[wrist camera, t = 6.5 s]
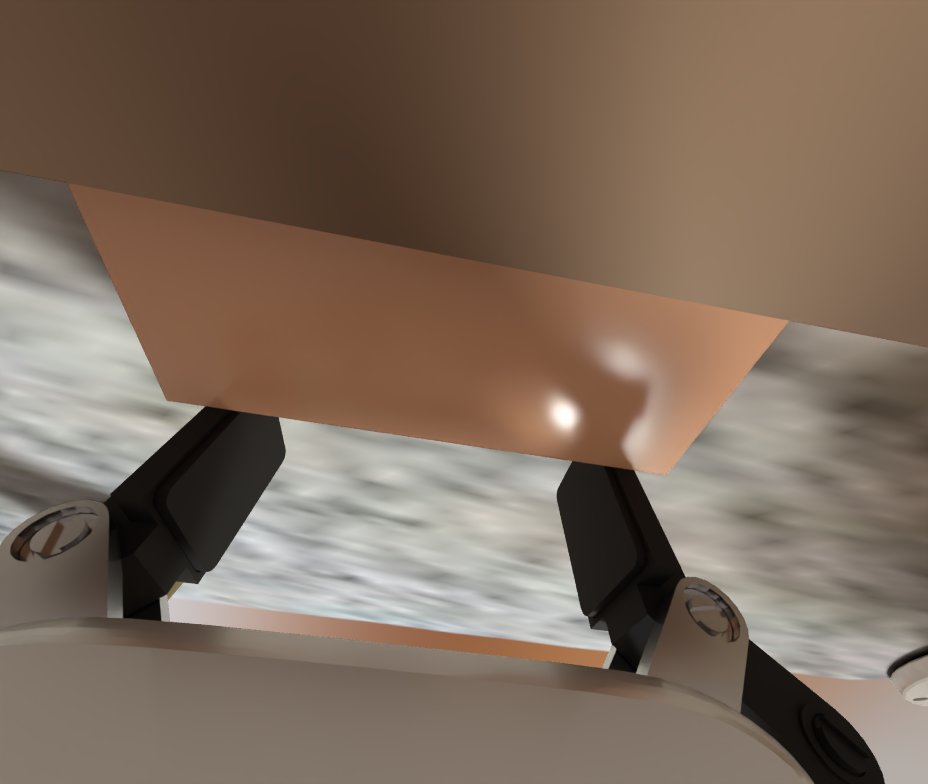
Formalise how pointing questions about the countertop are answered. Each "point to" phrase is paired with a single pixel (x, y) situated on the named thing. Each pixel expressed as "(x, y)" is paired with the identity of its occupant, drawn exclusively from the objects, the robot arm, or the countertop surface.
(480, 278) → the tile
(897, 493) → the countertop surface
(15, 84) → the shelf
